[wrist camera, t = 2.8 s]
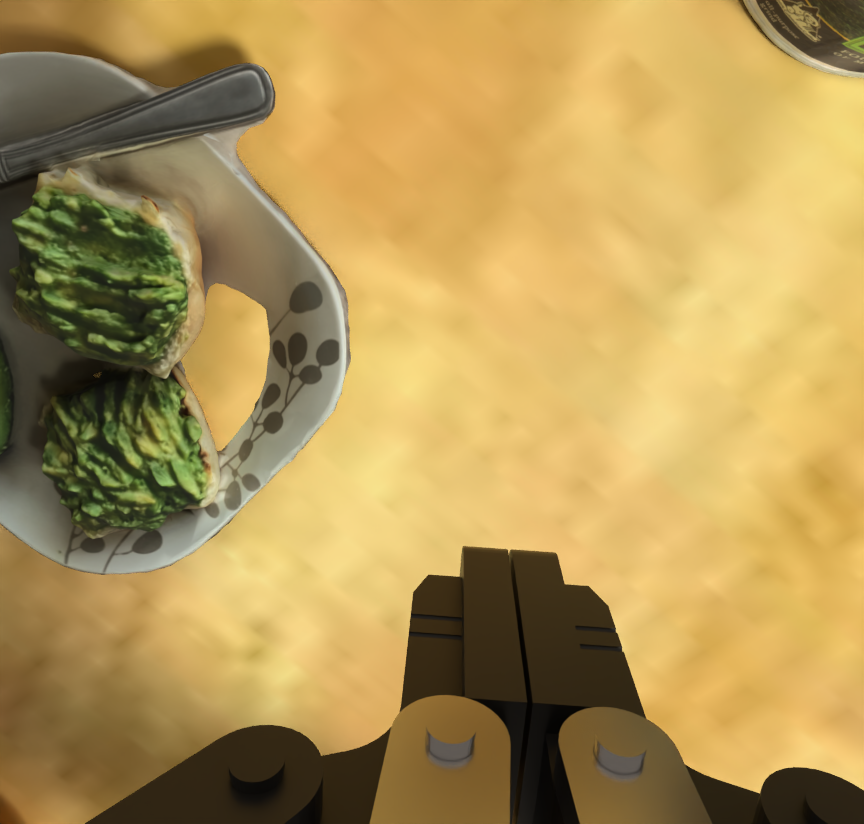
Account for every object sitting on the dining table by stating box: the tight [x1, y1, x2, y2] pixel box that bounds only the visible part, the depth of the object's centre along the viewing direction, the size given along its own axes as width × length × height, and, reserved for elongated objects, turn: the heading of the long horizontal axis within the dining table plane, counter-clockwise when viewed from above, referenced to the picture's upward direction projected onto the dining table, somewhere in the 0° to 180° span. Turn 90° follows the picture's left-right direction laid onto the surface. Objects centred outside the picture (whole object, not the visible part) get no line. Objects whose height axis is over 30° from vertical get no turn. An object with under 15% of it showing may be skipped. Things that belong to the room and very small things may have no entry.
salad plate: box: [0, 52, 351, 575], centre depth 24 cm, size 19×18×5 cm
